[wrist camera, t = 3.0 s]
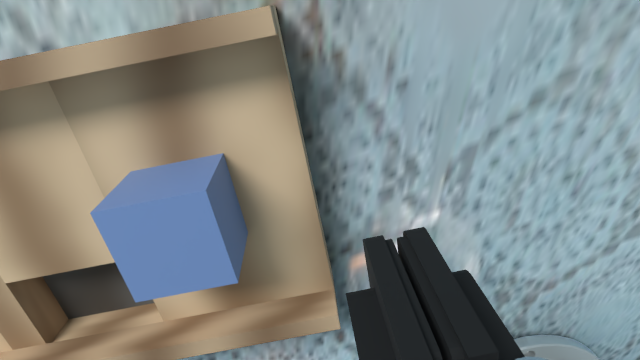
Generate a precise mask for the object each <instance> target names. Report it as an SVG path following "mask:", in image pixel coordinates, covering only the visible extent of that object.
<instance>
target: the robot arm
mask: <svg viewBox="0 0 640 360" xmlns="http://www.w3.org/2000/svg"><path fill="white" fill-rule="evenodd" d="M363 245H364V251H365V257H366V264H367V270H368V276H369V282H370V288H371V289H366V290H361V291H356V292H351V293H346V296H347V301H348V306H349V311H350V316H351V321H352V326H353V331H354V336H355V341H356V346H357V351H358V356H359V360H600V359H599V358H598V357H597V356H596V355H595V354H594V352H593V351H592V350H591V349H589V348H588V347H587V346H586V345H584V344H583V343H581V342H578V341H576V340H574V339H572V338H567V337H563V336H558V335H533V336H524V337H520V338H516V339H513V337H512V336H511V334H510V333H509V331H508V330H507V328H506V327H505V325H504V324H503V322H502V321H501V319H500V318H499V316H498V315H497V313H496V312H495V310H494V309H493V307H492V306H491V304H490V303H489V301H488V300H487V298H486V296H485V295H484V293H483V292H482V290H481V289H480V287H479V286H478V284H477V283H476V281H475V280H474V278H473V277H472V275H471V274H470V273H469V272H468V271H467V270H462V271H457V272H451V270H450V269H449V267H448V265H447V264H446V262H445V260H444V259H443V257H442V255H441V254H440V252H439V250H438V249H437V247H436V245H435V243H434V242H433V240H432V238H431V237H430V235H429V233H428V232H427V230H426V229H425V228H424V227H422V228H417V229H412V230H407V231H404V232H403V237H399V238H397V245H398V252H397V250H396V247H395V245H394V243H393V241H392V239H389V240H385V239H384V237H383V235H382V236H377V237H371V238H366V239H363Z"/></svg>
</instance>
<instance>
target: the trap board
mask: <svg viewBox="0 0 640 360" xmlns="http://www.w3.org/2000/svg"><path fill="white" fill-rule="evenodd" d="M221 153H223V154H224V157H225V160H226V163H227V166H228V170H229V173H230V176H231V179H232V182H233V186H234V189H235V192H236V195H237V198H238V202H239V205H240V208H241V211H242V214H243V218H244V221H245V224H246V227H247V230H248V236H247V241H246V246H245V251H244V256H243V261H242V266H241V271H240V276H239V281H238V283H236V284H230V285H225V286H220V287H215V288H209V289H204V290H199V291H194V292H188V293H183V294H178V295H173V296H167V297H162V298H157V299H152V300H146V301H141V302H135V300H134V299H133V297H132V295H131V293H130V291H129V289H128V287H127V285H126V283H125V281H124V279H123V277H122V275H121V273H120V271H119V269H118V267H117V265H116V263H115V261H114V259H113V257H112V255H111V253H110V251H109V249H108V247H107V245H106V243H105V241H104V239H103V238H102V236H101V234H100V232H99V230H98V228H97V226H96V224H95V222H94V220H93V218H92V216H91V214H90V213H91V211H92V210H93V209H94V208H95V207H96V206H97V205H98V204H99V203H100V202H101V201H102V200H103V199H104V198H105V197H106V196H107V195H108V194H109V193H110V192H111V191H112V190H113V189H114V188H115V187H116V186H117V185H118V184H119V183H120V182H121V181H122V180H123V179H124V178H125V177H126V176H127V175H128V174H129V173H130V172H131V171H135V170H140V169H145V168H151V167H156V166H161V165H166V164H171V163H176V162H181V161H186V160H191V159H196V158H201V157H206V156H211V155H216V154H221ZM337 329H341V328H340V321H339V314H338V308H337V301H336V294H335V287H334V280H333V274H332V269H331V264H330V260H329V255H328V250H327V246H326V241H325V236H324V232H323V227H322V222H321V218H320V213H319V208H318V204H317V199H316V194H315V190H314V185H313V180H312V175H311V171H310V166H309V161H308V157H307V152H306V147H305V143H304V138H303V133H302V129H301V124H300V119H299V115H298V110H297V105H296V101H295V96H294V91H293V87H292V82H291V77H290V73H289V68H288V63H287V58H286V54H285V49H284V44H283V40H282V35H281V30H280V26H279V21H278V16H277V12H276V7H275V6H266V7H261V8H256V9H251V10H246V11H241V12H237V13H232V14H227V15H222V16H217V17H212V18H207V19H202V20H197V21H193V22H188V23H183V24H178V25H173V26H168V27H163V28H158V29H153V30H149V31H144V32H139V33H134V34H129V35H124V36H119V37H114V38H109V39H105V40H100V41H95V42H90V43H85V44H80V45H75V46H70V47H65V48H61V49H56V50H51V51H46V52H41V53H36V54H31V55H26V56H22V57H17V58H12V59H7V60H2V61H0V360H177V359H182V358H187V357H193V356H198V355H203V354H209V353H214V352H219V351H225V350H230V349H235V348H241V347H246V346H251V345H257V344H262V343H267V342H273V341H278V340H284V339H289V338H294V337H300V336H305V335H310V334H316V333H321V332H326V331H332V330H337Z"/></svg>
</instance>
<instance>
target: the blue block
mask: <svg viewBox="0 0 640 360" xmlns="http://www.w3.org/2000/svg"><path fill="white" fill-rule="evenodd" d="M90 214H91V216H92V218H93V220H94V222H95V224H96V226H97V228H98V230H99V232H100V234H101V236H102V238H103V239H104V241H105V243H106V245H107V247H108V249H109V251H110V253H111V255H112V257H113V259H114V261H115V263H116V265H117V267H118V269H119V271H120V273H121V275H122V277H123V279H124V281H125V283H126V285H127V287H128V289H129V291H130V293H131V295H132V297H133V299H134V300H135V302H141V301H146V300H152V299H157V298H162V297H167V296H173V295H178V294H183V293H188V292H194V291H199V290H204V289H209V288H215V287H220V286H225V285H230V284H236V283H238V281H239V276H240V271H241V266H242V261H243V256H244V251H245V246H246V241H247V236H248V230H247V227H246V224H245V221H244V218H243V214H242V211H241V208H240V205H239V202H238V198H237V195H236V192H235V189H234V186H233V182H232V179H231V176H230V173H229V170H228V166H227V163H226V160H225V157H224V154H223V153H221V154H216V155H211V156H206V157H201V158H196V159H191V160H186V161H181V162H176V163H171V164H166V165H161V166H156V167H151V168H145V169H140V170H135V171H131V172H130V173H129V174H128V175H127V176H126V177H125V178H124V179H123V180H122V181H121V182H120V183H119V184H118V185H117V186H116V187H115V188H114V189H113V190H112V191H111V192H110V193H109V194H108V195H107V196H106V197H105V198H104V199H103V200H102V201H101V202H100V203H99V204H98V205H97V206H96V207H95V208H94V209H93V210H92V211H91V213H90Z"/></svg>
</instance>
